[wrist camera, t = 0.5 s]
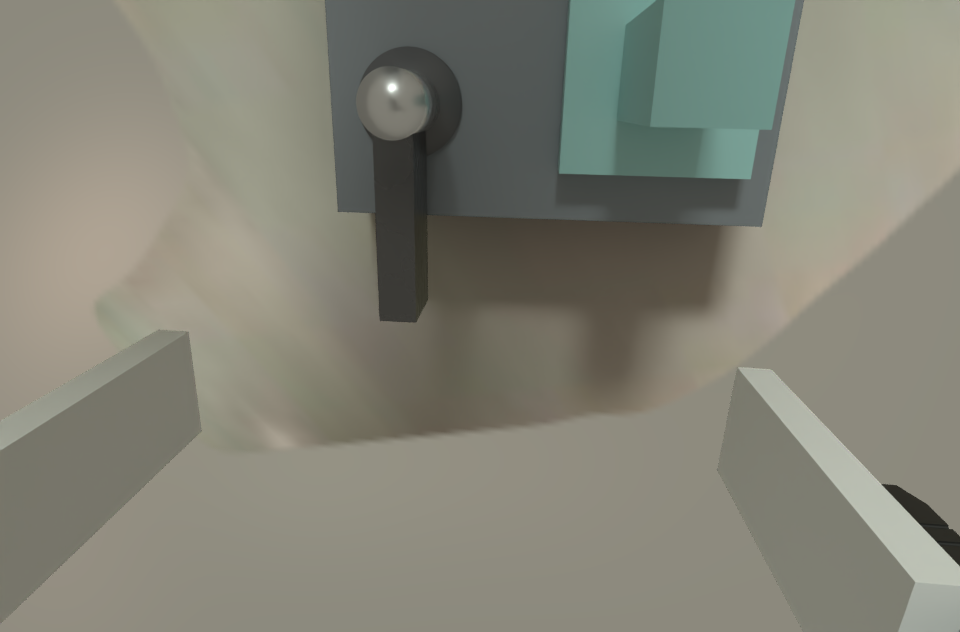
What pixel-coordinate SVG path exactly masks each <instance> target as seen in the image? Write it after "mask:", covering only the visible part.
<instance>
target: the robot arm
mask: <svg viewBox="0 0 960 632" xmlns="http://www.w3.org/2000/svg"><path fill="white" fill-rule="evenodd" d="M201 431H202V430H201V423H200V415H199V408H198V400H197V393H196V385H195V377H194V370H193V362H192V355H191V347H190V340H189V332H184V331H168V330H157V331H156V332H154V333H152V334H150V335H149V336H147V337H145V338H143V339H142V340H140V341H138V342H136V343H135V344H133V345H131V346H129V347H128V348H126V349H124V350H123V351H121V352H119V353H117V354H116V355H114V356H112V357H111V358H109V359H107V360H105V361H103V362H102V363H100V364H98V365H96V366H95V367H93V368H92V369H90V370H88V371H86V372H84V373H82V374H81V375H79V376H77V377H76V378H74V379H72V380H70V381H69V382H67V383H65V384H63V385H62V386H60V387H58V388H56V389H55V390H53V391H51V392H49V393H48V394H46V395H44V396H43V397H41V398H39V399H37V400H35V401H34V402H32V403H30V404H29V405H27V406H25V407H23V408H22V409H20V410H18V411H17V412H15V413H13V414H11V415H9V416H8V417H6V418H4V419H3V420H1V421H0V624H1V623H2V622H3V621H4V620H5V619H6V618H7V617H8V616H9V615H10V614H11V613H12V612H13V611H15V610H16V609H17V608H18V607H19V606H20V605H21V604H22V603H23V602H24V601H25V600H26V599H27V598H28V597H29V596H30V595H31V594H32V593H33V592H34V591H35V590H36V589H37V588H38V587H40V585H42V584H43V583H44V582H45V581H46V580H47V579H48V578H49V577H50V576H51V575H52V574H53V573H54V572H55V571H56V570H57V569H58V568H59V567H60V566H61V565H62V564H63V563H65V561H67V560H68V559H69V558H70V557H71V556H72V555H73V554H74V553H75V552H76V551H77V550H78V549H79V548H80V547H81V546H82V545H83V544H84V543H85V542H86V541H87V540H88V539H89V538H91V537H92V536H93V535H94V534H95V533H96V532H97V531H98V530H99V529H100V528H101V527H102V526H103V525H104V524H105V523H106V522H107V521H108V520H109V519H110V518H112V517H113V516H114V515H115V514H116V513H117V512H118V511H119V510H120V509H121V508H122V507H123V506H124V505H125V504H126V503H127V502H128V501H129V500H130V499H131V498H132V497H133V496H134V495H135V494H137V493H138V492H139V491H140V490H141V489H142V488H143V487H144V486H145V485H146V484H147V483H148V482H149V481H150V480H151V479H152V478H153V477H154V476H155V475H156V474H157V473H158V472H159V471H160V470H162V469H163V468H164V467H165V466H166V464H168V463H169V462H170V461H171V460H172V459H173V458H174V457H175V456H176V455H177V454H178V453H179V452H180V451H181V450H182V449H183V448H185V447H186V446H187V445H188V444H189V443H190V442H191V441H192V440H193V439H194V438H195V437H196V436H197V435H198V434H199V433H200V432H201ZM717 471H718V473H719V474H720V476H721V478H722V480H723V482H724V484H725V485H726V488H727V489H728V491H729V493H730V495H731V497H732V499H733V501H734V503H735V505H736V506H737V508H738V510H739V512H740V514H741V516H742V518H743V520H744V521H745V523H746V525H747V527H748V529H749V531H750V533H751V535H752V537H753V538H754V540H755V542H756V544H757V546H758V548H759V550H760V552H761V553H762V555H763V557H764V559H765V561H766V563H767V565H768V566H769V569H770V570H771V572H772V574H773V576H774V578H775V580H776V582H777V583H778V585H779V587H780V589H781V591H782V593H783V595H784V597H785V599H786V600H787V602H788V604H789V606H790V608H791V610H792V612H793V614H794V615H795V618H796V619H797V621H798V623H799V625H800V627H801V628H802V631H803V632H960V536H959V535H958V534H957V533H956V532H955V531H954V530H953V529H949V528H948V525H947V523H946V522H945V521H944V520H942V519H941V518H940V517H939V516H938V515H937V514H936V513H935V512H934V511H933V510H932V509H931V508H930V507H929V506H928V505H927V504H926V503H924V502H922V501H921V500H919V499H918V498H916V497H914V496H913V495H911V494H909V493H908V492H906V491H905V490H903V489H902V488H900V487H898V486H897V485H886V484H880V483H879V482H878V480H877V479H876V478H875V477H873V476H872V474H871V473H870V472H869V471H868V470H867V469H866V468H865V467H864V466H863V465H862V464H861V463H860V462H859V461H858V460H857V458H856V457H855V456H854V455H853V454H852V453H851V452H850V451H849V450H848V449H847V448H846V447H845V446H844V445H843V444H842V443H841V442H840V441H839V440H838V439H837V438H836V437H835V436H834V435H833V433H832V432H831V431H830V430H829V429H828V428H827V427H826V426H825V425H824V424H823V423H822V422H821V421H820V420H819V419H818V418H817V417H816V416H815V415H814V414H813V412H812V411H811V410H810V409H809V408H808V407H807V406H806V405H805V404H804V403H803V402H802V401H801V400H800V399H799V398H798V397H797V396H796V395H795V394H794V393H793V392H792V391H791V389H789V387H787V385H786V384H785V383H784V382H783V381H782V380H781V379H780V378H779V377H778V376H777V375H776V374H775V373H774V372H773V371H772V370H771V369H757V368H742V367H737V371H736V376H735V381H734V386H733V391H732V396H731V402H730V407H729V412H728V417H727V422H726V428H725V432H724V438H723V443H722V448H721V453H720V458H719V463H718V468H717Z"/></svg>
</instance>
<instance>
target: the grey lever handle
mask: <svg viewBox="0 0 960 632" xmlns="http://www.w3.org/2000/svg"><path fill="white" fill-rule="evenodd" d="M356 107H357V112H358V115H359V118H360V120H361V122H362V123H363V125H364V126H365V127H366V129H367V130H368V131H369V132H371V133H372V140H373V165H374V190H375V215H376V240H377V265H378V291H379V316H380V321H397V322H417V320H418V318H419V316H420V314H421V312H422V310H423V308H424V306H425V304H426V302H427V300H428V253H427V150H426V131H427V130H428V129H429V128H430V127H431V126H432V125H433V124H434V122H435V121H436V118H437V116H438V113H439V97H438V93H437V91H436V89H435V87H434V85H433V84H432V83H431V81H430V80H429V79H428V78H426V77H425V76H423V75H422V74H419V73H417V72H413V71H410V70H406V69H402V68H398V67H394V66H384V67H380V68H377V69H375V70H373V71H371V72H370V73H369V74H367V75H366V76H365V78H364V79H363V80H362V82H361V84H360V86H359V88H358V91H357V96H356Z"/></svg>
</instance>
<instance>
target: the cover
mask: <svg viewBox="0 0 960 632" xmlns="http://www.w3.org/2000/svg"><path fill="white" fill-rule="evenodd" d="M794 5H795V0H569V3H568V19H567V34H566V49H565V65H564V80H563V96H562V111H561V127H560V142H559V158H558V172H559V174H589V175H622V176H655V177H688V178H721V179H751V175H752V169H753V163H754V157H755V152H756V146H757V140H758V135H759V130H772V126H773V121H774V115H775V110H776V104H777V99H778V93H779V88H780V82H781V77H782V71H783V66H784V60H785V55H786V49H787V44H788V38H789V33H790V27H791V22H792V16H793V11H794Z"/></svg>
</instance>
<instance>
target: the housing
mask: <svg viewBox="0 0 960 632" xmlns="http://www.w3.org/2000/svg"><path fill="white" fill-rule="evenodd" d="M568 3H569V0H325V8H326V24H327V40H328V56H329V73H330V89H331V105H332V121H333V138H334V154H335V170H336V186H337V203H338V212H360V213H375V190H374V165H373V140H372V133H371V132H369V131H368V130H367V129H366V127H365V126H364V125H363V123H362V122H361V120H360V118H359V115H358V112H357V107H356V96H357V91H358V88H359V86H360V84H361V82H362V80H363V79H364V78H365V76H366V75H367V74H369V73H370V72H371V71H373V70H375V69H377V68H380V67H384V66H394V67H398V68H402V69H406V70H410V71H413V72H417V73H419V74H422V75H423V76H425V77H426V78H428V79H429V80H430V81H431V83H432V84H433V85H434V87H435V89H436V91H437V93H438V97H439V113H438V116H437V118H436V121H435V122H434V124H433V125H432V126H431V127H430V128H429V129H428V130H427V131H426V150H427V215H444V216H473V217H501V218H529V219H557V220H586V221H614V222H642V223H670V224H699V225H727V226H755V227H762V223H763V217H764V212H765V207H766V201H767V196H768V190H769V185H770V180H771V174H772V169H773V164H774V158H775V153H776V148H777V142H778V137H779V131H780V126H781V121H782V115H783V110H784V105H785V99H786V94H787V89H788V83H789V78H790V73H791V67H792V62H793V56H794V51H795V46H796V40H797V35H798V30H799V24H800V19H801V14H802V8H803V3H804V0H795V5H794V11H793V16H792V22H791V27H790V33H789V38H788V44H787V49H786V55H785V60H784V66H783V71H782V77H781V82H780V88H779V93H778V99H777V104H776V110H775V115H774V121H773V126H772V130H759V135H758V140H757V146H756V152H755V157H754V163H753V169H752V175H751V179H721V178H688V177H655V176H622V175H589V174H559V172H558V158H559V142H560V127H561V111H562V96H563V80H564V65H565V49H566V34H567V19H568Z"/></svg>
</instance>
